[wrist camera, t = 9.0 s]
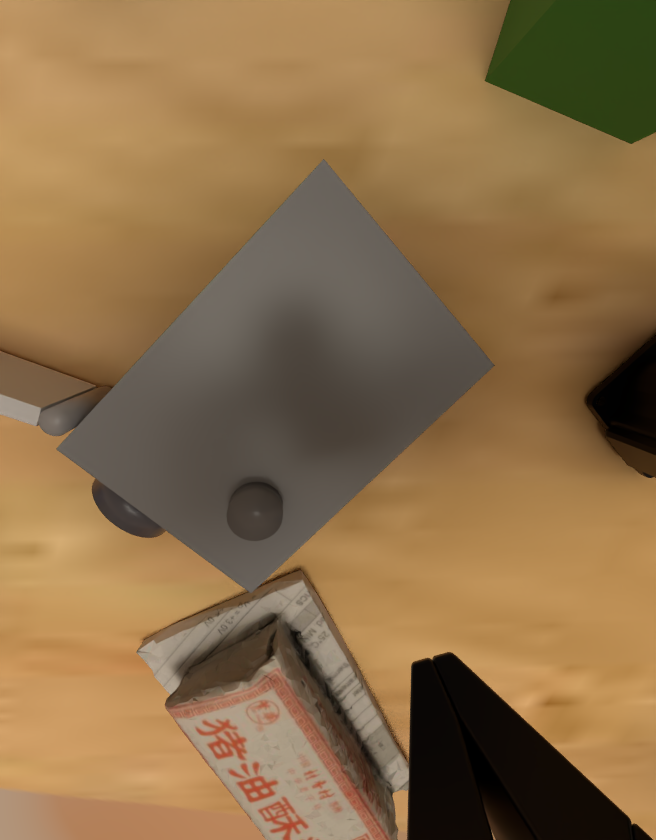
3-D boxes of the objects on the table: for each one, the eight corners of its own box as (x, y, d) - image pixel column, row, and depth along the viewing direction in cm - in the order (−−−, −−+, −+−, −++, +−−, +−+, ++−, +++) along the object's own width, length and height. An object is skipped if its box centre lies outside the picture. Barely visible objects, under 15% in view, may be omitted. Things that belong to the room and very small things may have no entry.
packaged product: (438, 851, 23) (280, 921, 23) (411, 759, 27) (281, 817, 27) (307, 625, 18) (104, 717, 18) (302, 559, 22) (141, 632, 22)
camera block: (311, 201, 17) (325, 148, 11) (442, 351, 19) (506, 368, 14) (95, 433, 19) (15, 486, 13) (240, 545, 21) (224, 630, 15)
